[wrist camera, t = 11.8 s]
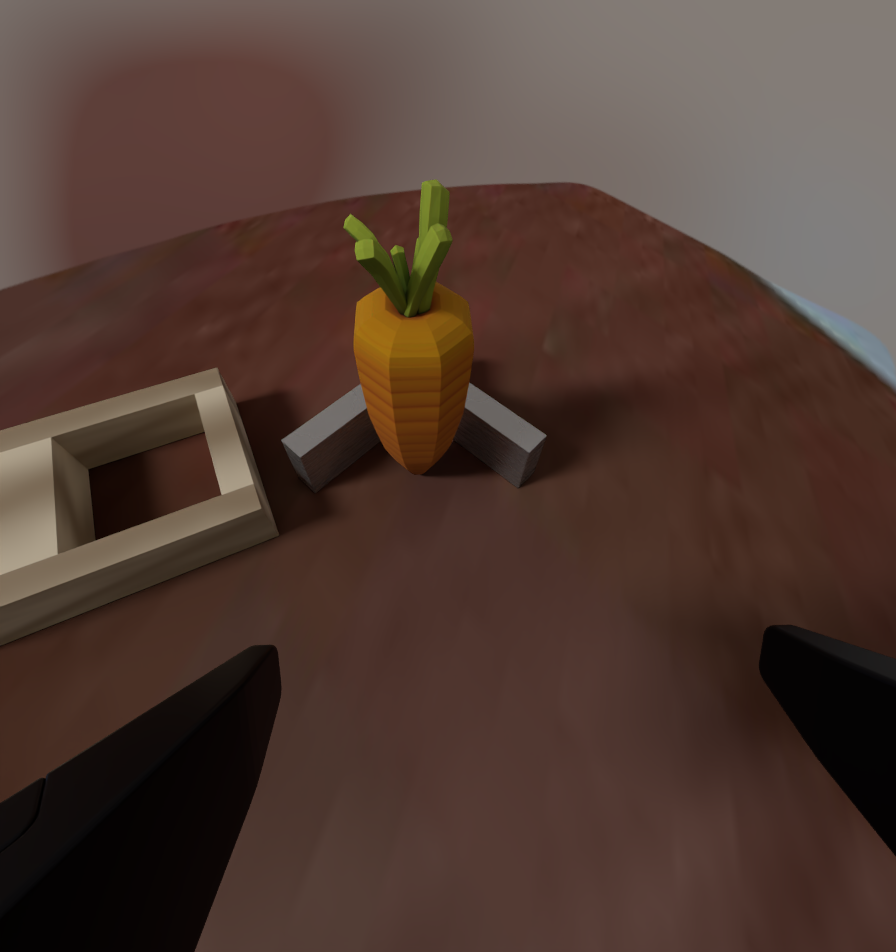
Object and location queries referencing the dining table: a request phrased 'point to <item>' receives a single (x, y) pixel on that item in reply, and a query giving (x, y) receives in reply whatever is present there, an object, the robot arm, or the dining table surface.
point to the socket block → (70, 507)
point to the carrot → (413, 340)
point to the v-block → (352, 435)
